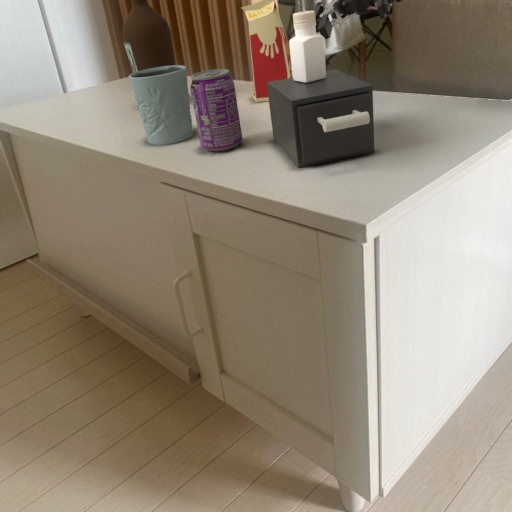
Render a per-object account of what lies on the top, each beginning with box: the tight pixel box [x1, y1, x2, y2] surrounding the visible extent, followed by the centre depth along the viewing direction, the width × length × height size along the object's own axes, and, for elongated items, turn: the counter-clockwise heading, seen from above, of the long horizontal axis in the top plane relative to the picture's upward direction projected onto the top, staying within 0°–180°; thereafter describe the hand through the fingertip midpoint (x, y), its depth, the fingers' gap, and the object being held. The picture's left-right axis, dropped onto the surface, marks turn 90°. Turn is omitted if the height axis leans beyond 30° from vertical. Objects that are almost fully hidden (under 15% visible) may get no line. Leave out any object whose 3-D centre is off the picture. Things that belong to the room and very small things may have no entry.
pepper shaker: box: [288, 10, 327, 83], centre depth 80 cm, size 4×4×10 cm
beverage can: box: [189, 68, 243, 152], centre depth 88 cm, size 7×7×12 cm
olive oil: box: [121, 0, 177, 74], centre depth 120 cm, size 11×11×25 cm
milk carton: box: [240, 0, 293, 103], centre depth 113 cm, size 9×9×20 cm
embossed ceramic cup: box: [128, 64, 194, 146], centre depth 98 cm, size 10×10×12 cm
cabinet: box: [267, 69, 375, 169], centre depth 82 cm, size 15×12×10 cm
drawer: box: [297, 93, 375, 163], centre depth 78 cm, size 18×10×8 cm, turn 12°
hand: (352, 22), depth 79 cm, fingers open, 8 cm apart
